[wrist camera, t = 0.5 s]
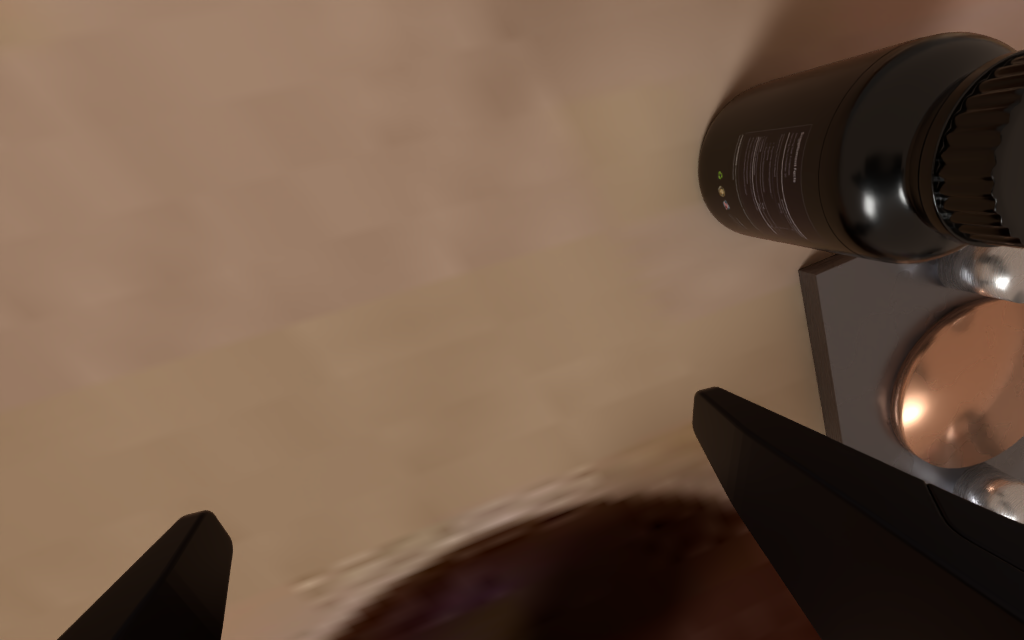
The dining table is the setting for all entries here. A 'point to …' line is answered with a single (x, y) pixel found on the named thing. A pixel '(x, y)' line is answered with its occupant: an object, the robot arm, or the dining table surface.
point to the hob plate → (926, 366)
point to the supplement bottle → (878, 153)
